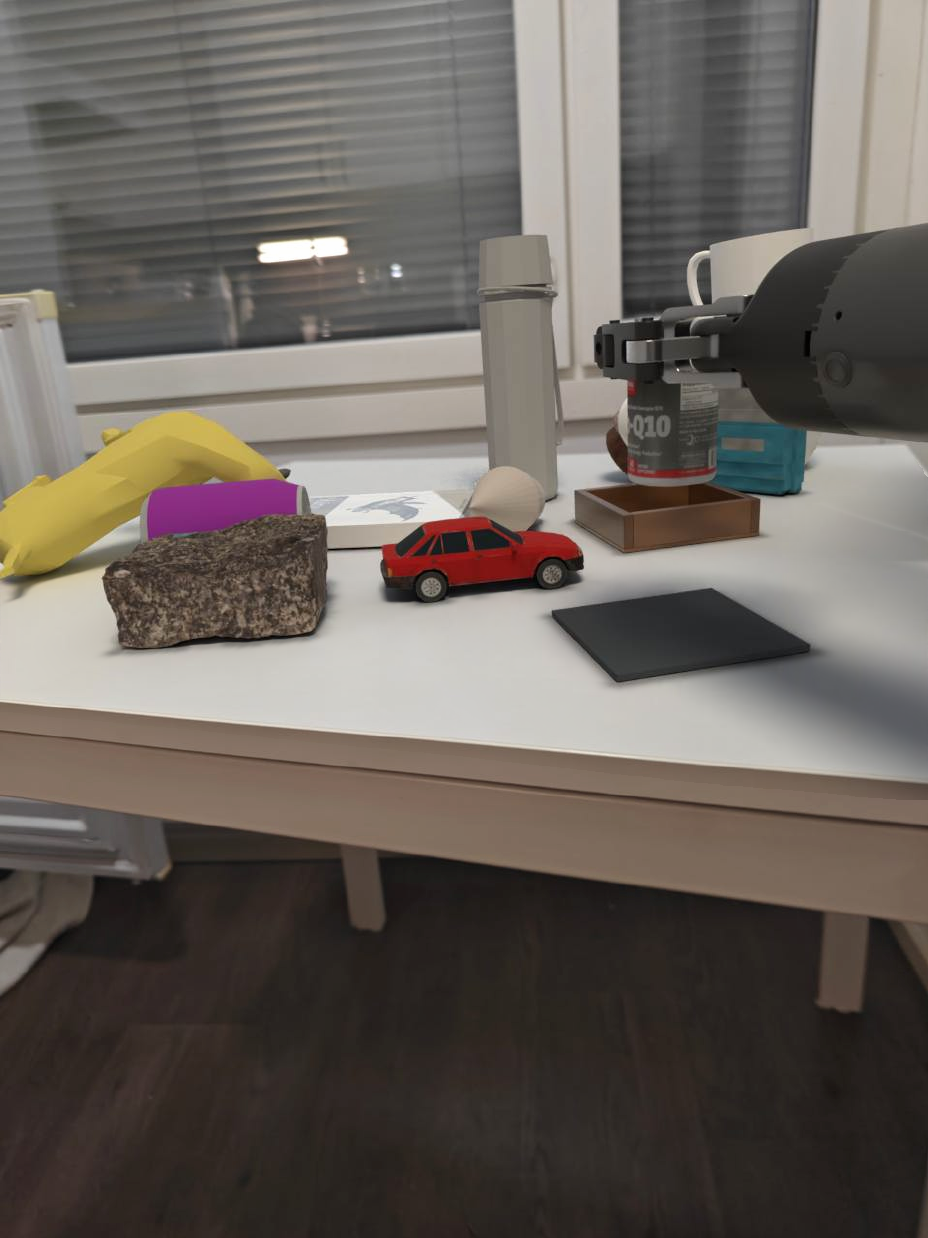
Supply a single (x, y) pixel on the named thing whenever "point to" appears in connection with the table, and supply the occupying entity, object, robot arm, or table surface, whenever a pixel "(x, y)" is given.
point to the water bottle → (520, 357)
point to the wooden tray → (666, 515)
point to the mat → (674, 633)
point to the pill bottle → (672, 432)
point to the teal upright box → (756, 448)
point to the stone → (222, 582)
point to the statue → (118, 487)
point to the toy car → (475, 556)
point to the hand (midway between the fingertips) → (643, 343)
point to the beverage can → (218, 505)
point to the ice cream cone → (508, 498)
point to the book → (386, 515)
